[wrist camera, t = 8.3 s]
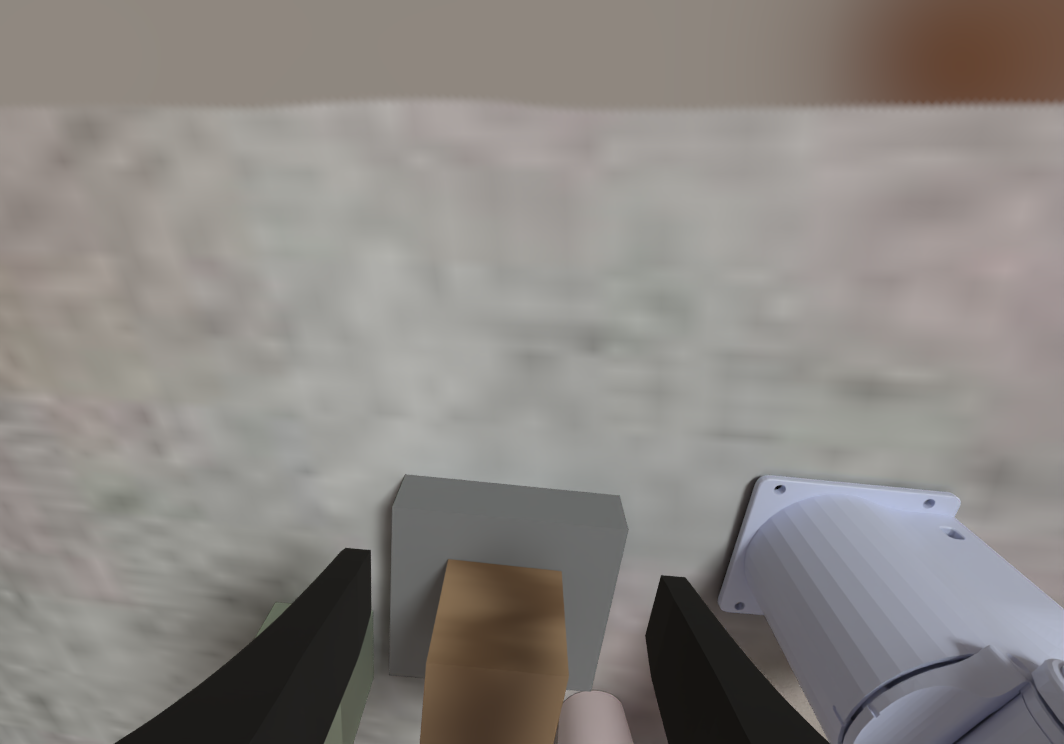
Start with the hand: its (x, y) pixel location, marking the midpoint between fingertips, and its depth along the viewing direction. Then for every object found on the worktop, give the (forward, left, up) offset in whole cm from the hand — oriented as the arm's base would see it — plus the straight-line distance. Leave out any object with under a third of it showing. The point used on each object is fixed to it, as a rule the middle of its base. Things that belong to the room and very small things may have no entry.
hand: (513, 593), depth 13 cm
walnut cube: (0, +9, -8) cm, 12 cm away
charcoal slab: (0, +9, -11) cm, 14 cm away
